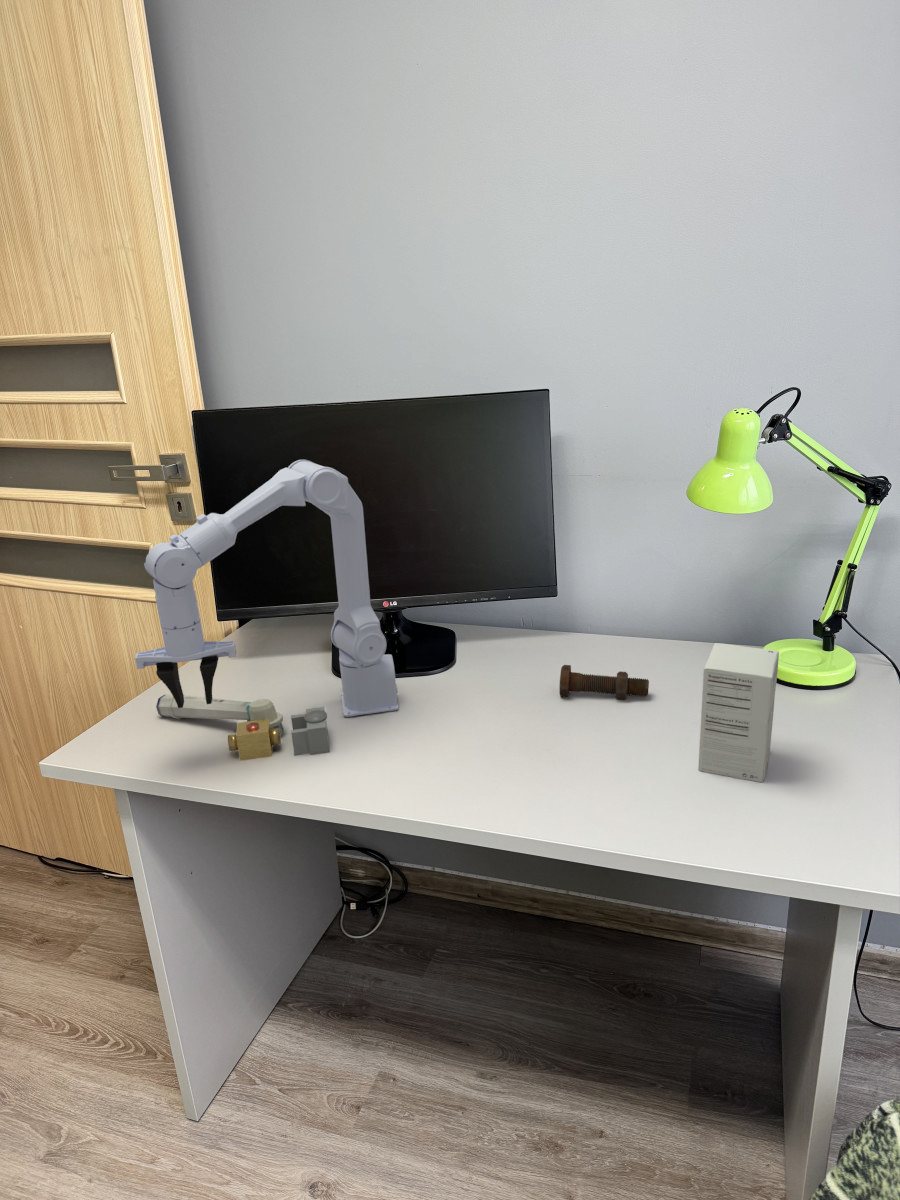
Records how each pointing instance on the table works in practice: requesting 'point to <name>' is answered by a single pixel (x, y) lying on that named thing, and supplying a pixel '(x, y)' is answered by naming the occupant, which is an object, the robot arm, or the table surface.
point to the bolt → (602, 684)
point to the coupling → (310, 732)
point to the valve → (254, 739)
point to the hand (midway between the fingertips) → (195, 703)
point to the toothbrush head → (220, 710)
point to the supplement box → (737, 711)
